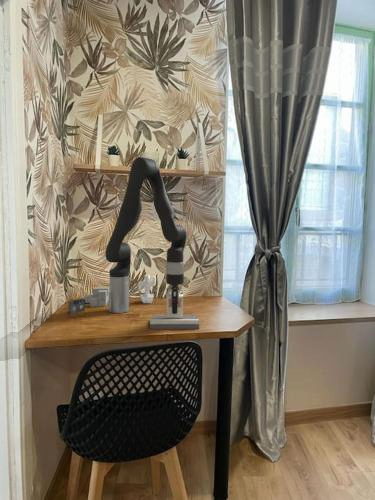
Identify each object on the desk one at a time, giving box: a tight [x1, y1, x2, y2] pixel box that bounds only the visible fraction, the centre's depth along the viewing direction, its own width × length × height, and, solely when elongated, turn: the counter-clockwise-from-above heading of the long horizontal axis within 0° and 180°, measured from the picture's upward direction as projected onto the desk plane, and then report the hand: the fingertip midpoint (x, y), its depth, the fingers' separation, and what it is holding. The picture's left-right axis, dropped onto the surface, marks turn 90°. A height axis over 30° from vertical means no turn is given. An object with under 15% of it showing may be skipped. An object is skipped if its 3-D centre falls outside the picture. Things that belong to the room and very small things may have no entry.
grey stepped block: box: [84, 286, 110, 308], centre depth 165 cm, size 12×12×8 cm
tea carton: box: [165, 293, 184, 318], centre depth 132 cm, size 5×7×9 cm, turn 92°
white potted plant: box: [137, 274, 157, 304], centre depth 169 cm, size 7×9×15 cm
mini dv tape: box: [68, 297, 86, 315], centre depth 149 cm, size 8×2×6 cm, turn 148°
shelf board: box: [149, 314, 200, 330], centre depth 132 cm, size 20×12×4 cm, turn 92°
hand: (174, 311), depth 133 cm, fingers closed on tea carton, 4 cm apart
